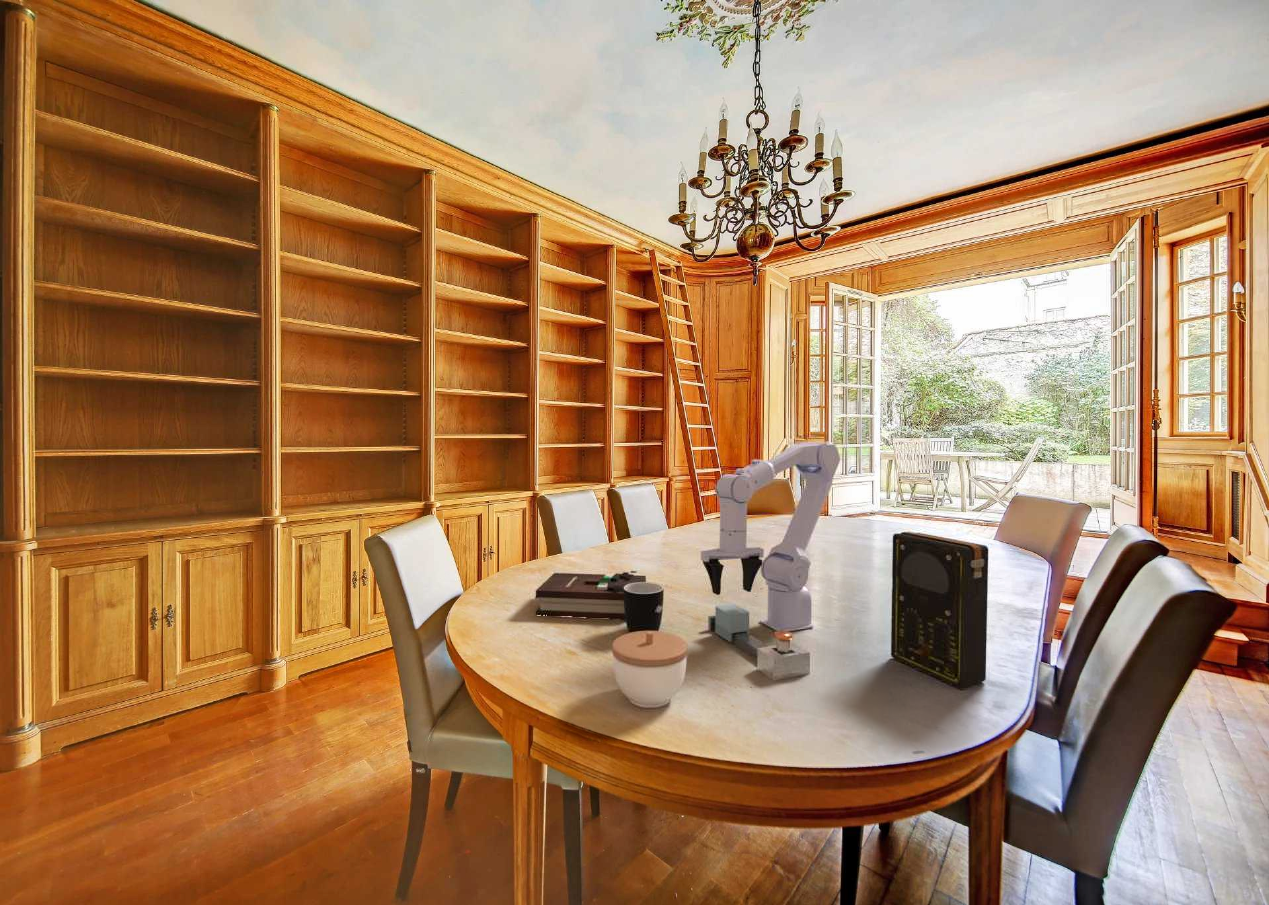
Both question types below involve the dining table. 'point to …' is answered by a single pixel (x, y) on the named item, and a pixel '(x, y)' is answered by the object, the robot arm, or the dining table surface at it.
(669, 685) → the lidded bowl
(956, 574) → the voltmeter
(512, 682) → the dining table surface
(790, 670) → the grey rectangular block
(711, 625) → the rail
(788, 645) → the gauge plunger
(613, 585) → the decorative book
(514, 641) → the dining table surface
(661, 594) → the mug
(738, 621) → the carriage
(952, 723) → the dining table surface
